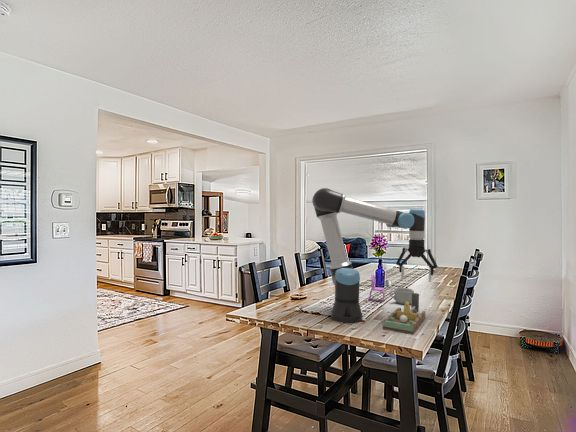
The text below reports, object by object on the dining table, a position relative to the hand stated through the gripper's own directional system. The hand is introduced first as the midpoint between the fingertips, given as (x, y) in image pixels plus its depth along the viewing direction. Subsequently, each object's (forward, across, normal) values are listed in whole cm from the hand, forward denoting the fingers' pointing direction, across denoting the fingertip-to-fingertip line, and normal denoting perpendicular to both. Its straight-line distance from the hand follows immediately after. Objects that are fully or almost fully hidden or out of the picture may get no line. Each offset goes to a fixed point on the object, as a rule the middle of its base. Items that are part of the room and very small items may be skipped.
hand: (416, 280), depth 191 cm
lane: (+17, 0, +22) cm, 28 cm away
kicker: (+16, 0, +9) cm, 18 cm away
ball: (+14, 0, +25) cm, 29 cm away
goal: (+16, 0, +32) cm, 36 cm away
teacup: (+17, +12, -18) cm, 27 cm away
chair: (+17, +25, -15) cm, 34 cm away
